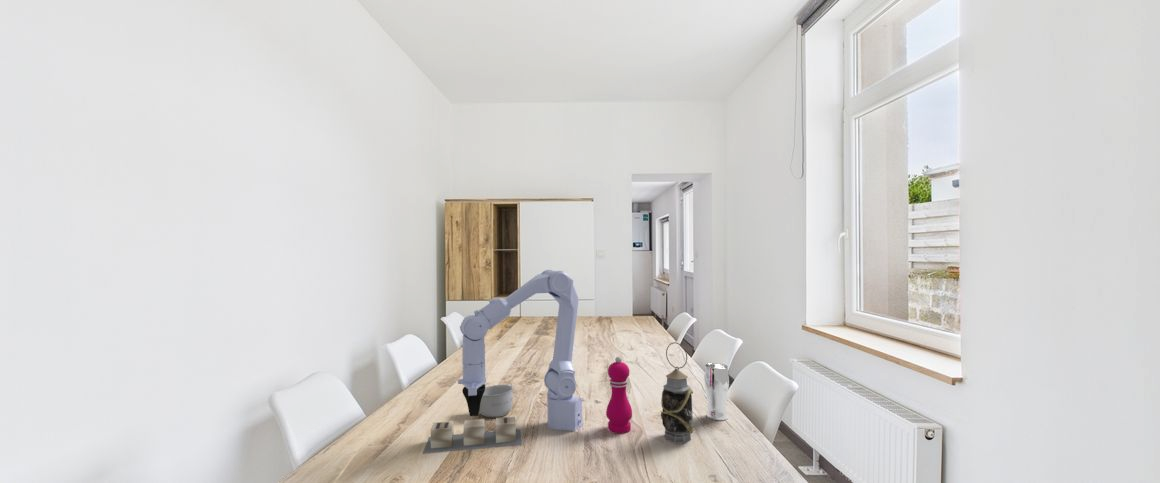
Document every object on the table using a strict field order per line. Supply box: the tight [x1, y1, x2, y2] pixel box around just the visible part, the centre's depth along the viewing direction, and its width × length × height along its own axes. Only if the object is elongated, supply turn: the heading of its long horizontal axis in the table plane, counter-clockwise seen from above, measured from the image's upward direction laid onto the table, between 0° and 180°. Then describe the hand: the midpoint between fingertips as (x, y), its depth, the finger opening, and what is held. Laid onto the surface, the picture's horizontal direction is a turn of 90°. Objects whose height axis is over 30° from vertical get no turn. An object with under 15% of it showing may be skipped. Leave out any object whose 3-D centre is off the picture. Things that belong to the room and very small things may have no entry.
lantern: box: [660, 342, 694, 444], centre depth 119 cm, size 9×8×25 cm
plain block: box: [463, 418, 486, 446], centre depth 117 cm, size 5×5×4 cm
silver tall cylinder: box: [703, 362, 730, 421], centre depth 134 cm, size 7×7×15 cm
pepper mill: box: [605, 356, 633, 434], centre depth 125 cm, size 7×7×20 cm
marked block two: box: [430, 421, 455, 448], centre depth 115 cm, size 5×5×5 cm
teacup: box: [479, 383, 514, 419], centre depth 138 cm, size 14×11×8 cm
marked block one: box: [495, 416, 517, 443], centre depth 118 cm, size 5×5×5 cm
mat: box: [422, 429, 523, 454], centre depth 117 cm, size 24×10×1 cm, turn 100°
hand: (474, 415), depth 117 cm, fingers closed
